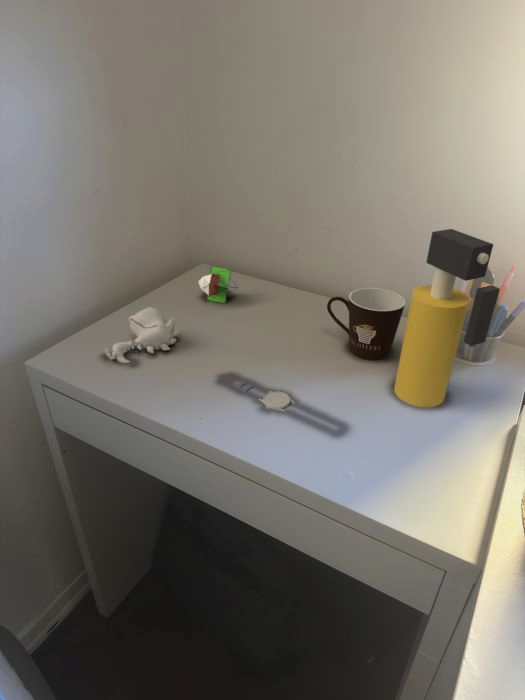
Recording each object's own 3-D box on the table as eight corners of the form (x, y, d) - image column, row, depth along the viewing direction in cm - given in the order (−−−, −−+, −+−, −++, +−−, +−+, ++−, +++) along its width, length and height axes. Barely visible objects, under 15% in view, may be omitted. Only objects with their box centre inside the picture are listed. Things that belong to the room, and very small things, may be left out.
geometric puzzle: (215, 277, 104) (202, 255, 97) (245, 283, 101) (234, 260, 94) (202, 307, 101) (189, 286, 94) (233, 313, 99) (221, 292, 92)
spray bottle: (419, 379, 76) (453, 223, 64) (462, 410, 70) (509, 243, 57) (383, 390, 73) (411, 230, 61) (424, 423, 67) (465, 251, 55)
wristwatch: (231, 374, 76) (231, 369, 75) (348, 426, 66) (349, 420, 65) (213, 387, 73) (213, 381, 72) (332, 443, 63) (333, 437, 62)
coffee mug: (406, 358, 81) (417, 302, 76) (368, 373, 77) (377, 316, 72) (356, 329, 90) (363, 278, 84) (320, 342, 85) (324, 288, 80)
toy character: (96, 348, 81) (158, 315, 87) (124, 385, 78) (187, 349, 84) (91, 326, 77) (157, 293, 82) (121, 365, 74) (188, 328, 79)
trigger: (477, 337, 62) (491, 284, 58) (485, 342, 61) (500, 288, 57) (463, 342, 61) (477, 288, 57) (470, 346, 60) (485, 292, 56)
